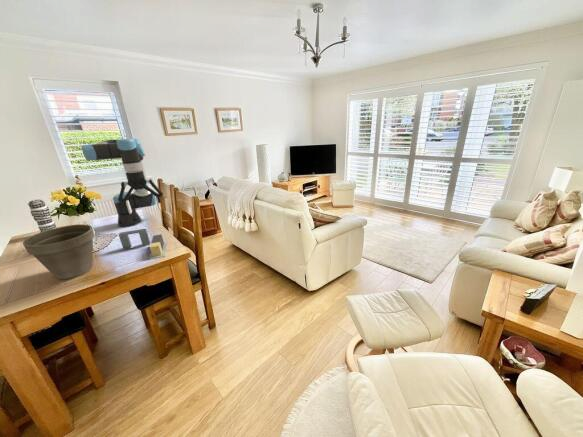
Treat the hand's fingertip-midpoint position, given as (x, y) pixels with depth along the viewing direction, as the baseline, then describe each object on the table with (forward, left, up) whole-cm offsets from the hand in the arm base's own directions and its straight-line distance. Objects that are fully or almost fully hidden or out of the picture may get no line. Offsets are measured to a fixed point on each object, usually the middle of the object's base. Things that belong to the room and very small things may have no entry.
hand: (145, 210), depth 127 cm
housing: (-17, -13, -27) cm, 34 cm away
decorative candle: (-64, -74, -27) cm, 101 cm away
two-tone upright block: (-5, 0, -26) cm, 27 cm away
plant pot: (+1, -38, -27) cm, 47 cm away
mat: (-4, 0, -27) cm, 27 cm away
